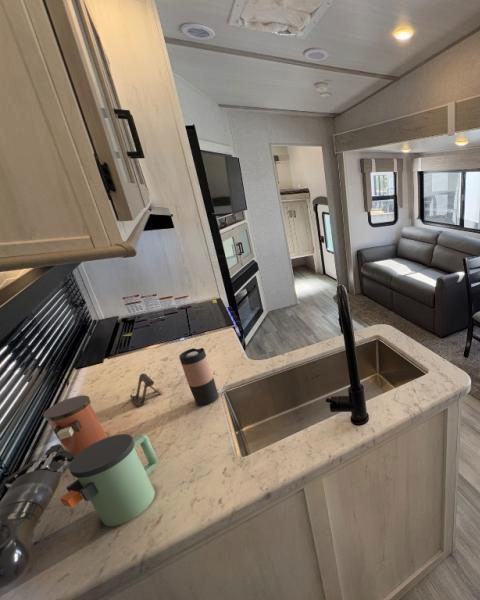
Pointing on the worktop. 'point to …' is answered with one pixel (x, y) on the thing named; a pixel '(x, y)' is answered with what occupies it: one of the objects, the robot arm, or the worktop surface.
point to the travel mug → (199, 376)
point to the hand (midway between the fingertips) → (57, 447)
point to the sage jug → (115, 477)
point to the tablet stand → (148, 383)
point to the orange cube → (71, 498)
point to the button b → (65, 433)
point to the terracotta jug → (76, 423)
